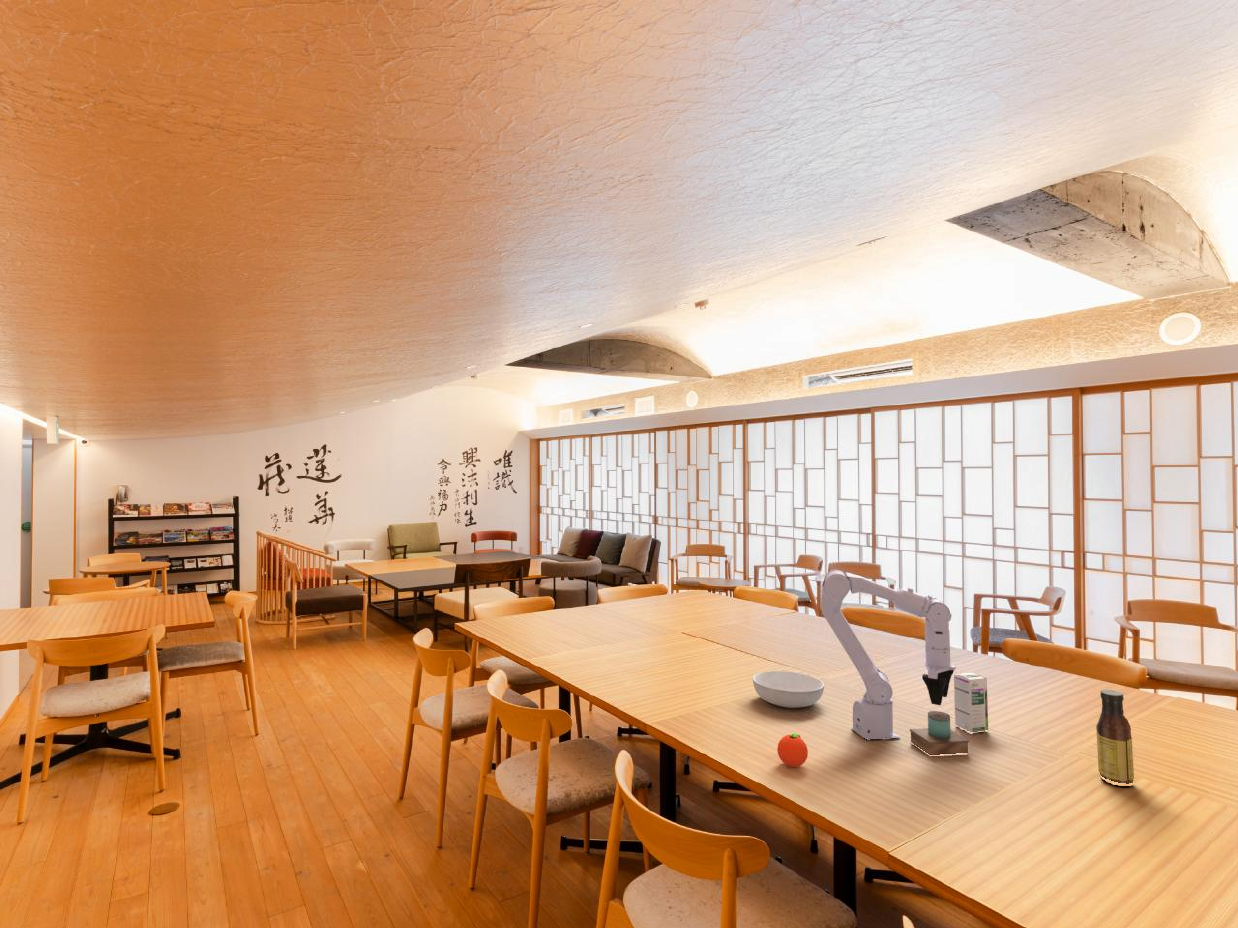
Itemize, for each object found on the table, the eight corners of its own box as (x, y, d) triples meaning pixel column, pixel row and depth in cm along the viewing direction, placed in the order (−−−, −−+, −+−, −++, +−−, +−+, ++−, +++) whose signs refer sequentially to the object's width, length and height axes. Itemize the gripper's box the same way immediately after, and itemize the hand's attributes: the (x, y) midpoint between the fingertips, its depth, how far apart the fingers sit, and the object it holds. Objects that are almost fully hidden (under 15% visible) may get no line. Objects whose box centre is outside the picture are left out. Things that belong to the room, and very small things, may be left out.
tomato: (786, 755, 153) (786, 725, 153) (814, 763, 149) (814, 732, 149) (772, 766, 147) (772, 735, 147) (800, 775, 142) (800, 743, 143)
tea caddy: (936, 739, 155) (936, 718, 155) (923, 731, 160) (923, 711, 160) (954, 738, 155) (954, 717, 155) (941, 730, 160) (941, 710, 160)
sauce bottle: (1118, 775, 144) (1116, 687, 144) (1141, 788, 137) (1139, 696, 138) (1090, 775, 143) (1088, 687, 144) (1112, 788, 137) (1110, 696, 138)
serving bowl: (828, 718, 178) (828, 693, 178) (752, 712, 182) (752, 688, 183) (820, 694, 199) (820, 672, 199) (752, 689, 203) (752, 668, 203)
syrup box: (971, 734, 167) (970, 679, 167) (953, 726, 173) (953, 672, 173) (988, 732, 168) (988, 677, 169) (970, 724, 174) (970, 671, 175)
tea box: (929, 758, 153) (929, 742, 153) (909, 744, 161) (909, 728, 161) (969, 757, 154) (969, 740, 154) (947, 743, 162) (947, 727, 162)
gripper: (949, 655, 155) (951, 711, 155) (959, 643, 167) (961, 695, 166) (918, 651, 159) (920, 705, 159) (930, 639, 171) (932, 690, 170)
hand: (939, 700), depth 163 cm, fingers open, 7 cm apart
